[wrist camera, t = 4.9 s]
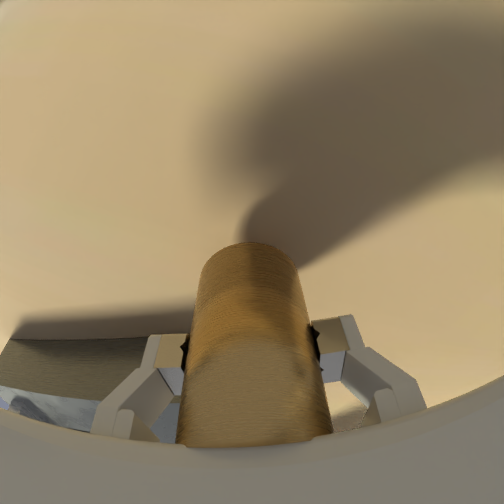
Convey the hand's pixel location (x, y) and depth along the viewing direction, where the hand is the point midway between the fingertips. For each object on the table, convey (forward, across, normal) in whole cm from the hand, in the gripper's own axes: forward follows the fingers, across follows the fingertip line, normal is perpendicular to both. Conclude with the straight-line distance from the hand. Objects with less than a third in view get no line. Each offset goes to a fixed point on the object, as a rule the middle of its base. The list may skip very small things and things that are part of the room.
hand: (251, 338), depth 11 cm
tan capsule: (+3, 0, 0) cm, 3 cm away
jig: (+5, +12, +13) cm, 19 cm away
